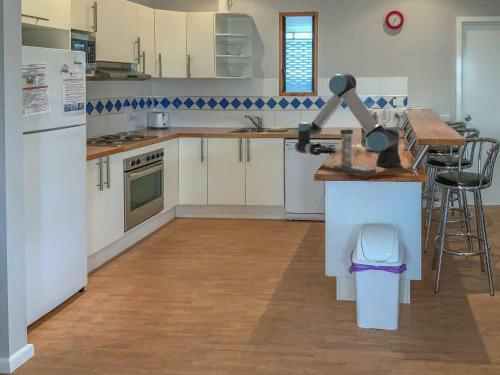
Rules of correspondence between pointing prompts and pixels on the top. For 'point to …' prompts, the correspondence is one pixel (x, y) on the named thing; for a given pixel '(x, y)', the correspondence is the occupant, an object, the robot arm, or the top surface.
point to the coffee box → (363, 137)
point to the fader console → (355, 169)
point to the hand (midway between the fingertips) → (339, 152)
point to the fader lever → (346, 148)
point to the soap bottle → (367, 139)
